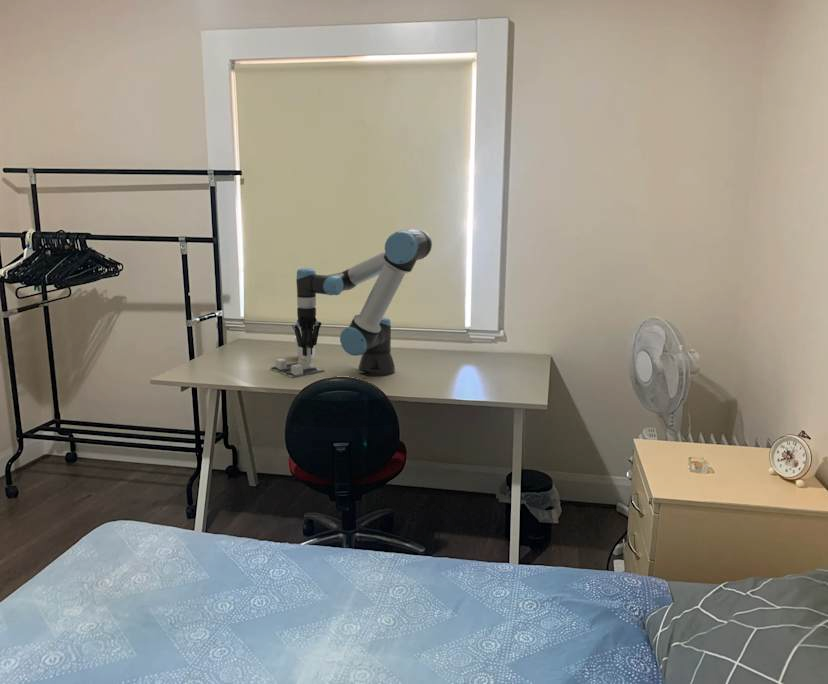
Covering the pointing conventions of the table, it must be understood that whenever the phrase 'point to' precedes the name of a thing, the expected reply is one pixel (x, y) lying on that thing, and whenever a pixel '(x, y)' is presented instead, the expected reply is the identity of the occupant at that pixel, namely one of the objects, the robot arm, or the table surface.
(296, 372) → the toggle
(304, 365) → the toggle
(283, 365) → the toggle
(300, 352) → the cup
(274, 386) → the table surface
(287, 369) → the panel
